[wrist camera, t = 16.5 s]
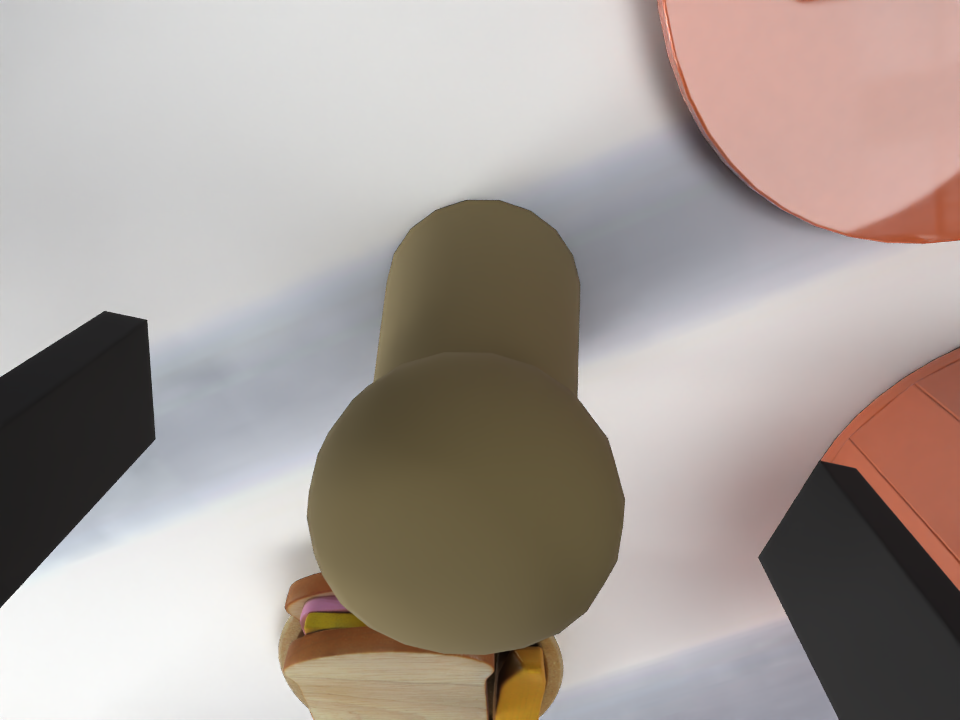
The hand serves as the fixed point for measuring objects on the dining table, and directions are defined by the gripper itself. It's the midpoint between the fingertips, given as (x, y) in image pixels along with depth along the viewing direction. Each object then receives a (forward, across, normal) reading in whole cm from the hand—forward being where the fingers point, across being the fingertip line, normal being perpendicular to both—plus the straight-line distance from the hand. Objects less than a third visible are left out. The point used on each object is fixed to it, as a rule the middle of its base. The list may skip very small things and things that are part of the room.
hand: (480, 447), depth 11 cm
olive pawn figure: (+8, 0, 0) cm, 8 cm away
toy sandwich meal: (+8, 0, -17) cm, 19 cm away
